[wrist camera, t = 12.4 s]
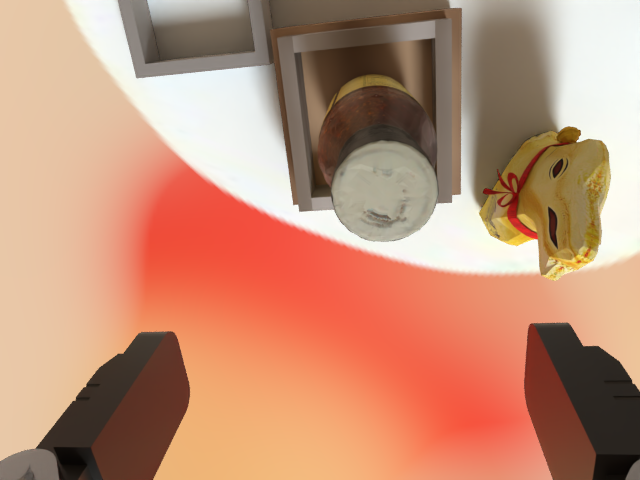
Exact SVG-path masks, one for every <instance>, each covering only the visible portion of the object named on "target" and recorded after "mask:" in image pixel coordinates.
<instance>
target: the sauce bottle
mask: <svg viewBox="0 0 640 480" xmlns="http://www.w3.org/2000/svg"><path fill="white" fill-rule="evenodd" d="M436 159H437V139H436V133H435V130H434V127H433V124H432V122H431V120H430V118H429V116H428V114H427V113H426V111H425V110H424V109H423V107H422V106H421V104H420V103H419V102H418V101H417V100H416V99H415V98H414V97H413V96H412V95H411V94H410V93H409V92H408V91H407V90H406V89H405V88H404V87H403V86H402V85H401V84H400V83H399V82H397V81H396V80H394V79H392V78H391V77H388V76H384V75H377V74H370V75H364V76H360V77H357V78H355V79H353V80H351V81H349V82H347V83H346V84H345V85H343V86H342V87H341V89H340V90H339V91H338V92H337V93H336V94H335V96H334V97H333V99H332V101H331V103H330V105H329V108H328V110H327V113H326V115H325V118H324V120H323V123H322V126H321V129H320V134H319V142H318V161H319V166H320V168H321V170H322V172H323V175H324V178H325V180H326V182H327V183H328V184H329V186H330V188H331V199H332V203H333V206H334V210H335V213H336V215H337V217H338V218H339V220H340V222H341V223H342V224H343V225H345V227H346V228H347V229H348V230H349V231H350V232H352V233H354V234H356V235H358V236H359V237H361V238H363V239H366V240H369V241H381V242H385V241H396V240H399V239H403V238H405V237H408V236H409V235H411V234H413V233H414V232H416V231H418V230H420V229H421V227H423V226H424V225H425V224H426V223H427V221H428V220H429V218H430V216H431V215H432V213H433V211H434V208H435V206H436V202H437V198H438V196H439V187H438V180H437V176H436V172H435V170H434V167H435V163H436Z"/></svg>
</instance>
